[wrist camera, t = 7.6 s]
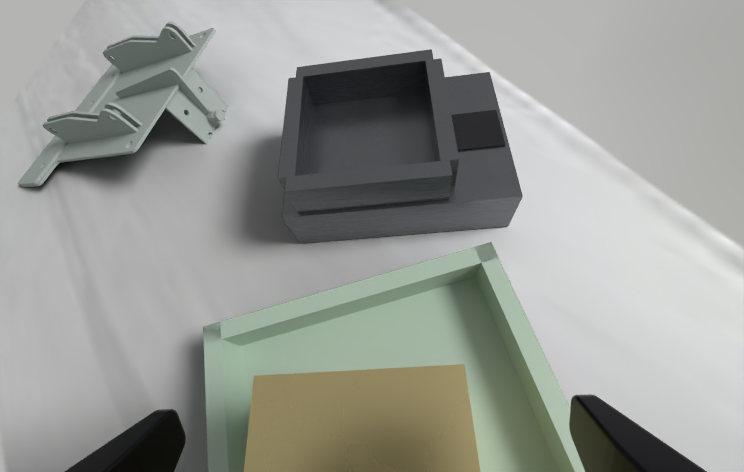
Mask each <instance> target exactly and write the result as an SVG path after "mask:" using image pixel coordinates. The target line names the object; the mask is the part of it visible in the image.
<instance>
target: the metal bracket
mask: <svg viewBox="0 0 744 472" xmlns="http://www.w3.org/2000/svg"><path fill="white" fill-rule="evenodd" d="M174 29H175V30H174ZM214 33H215V30H214V29H213V28H211V29H208V30H205V31H202V32H200V33H197V34H194V35H191V36H188V35H187V34H186V33H185V31H184V30H183V29H182V28H181V27H180V26H179V25H177V24H176V23H174V22H168V23H167V24H166V26H165V27H164V28H163V29H162V31H161V34H160V36H132V37H129V38H127V39H124V40H122V41H119V42H116V43H114V44H111V45H109V46H108V47H107V49H106V50H105V51H104V52H103V54H104V56H105V58H106V59H107V60H109V61H110V62H111V63H112V65H111V66H110V68H109V69H108V70H107V71H106V73H105V74H104V75H103V76H102V78H101V79H100V80H99V81H98V83H97V84H96V85H95V86H94V88H93V89H92V90H91V91H90V93H89V94H88V95H87V96H86V98H85V99H84V100H83V102H82V103H81V104H80V105H79V107H78V108H77V109H76V110H75V111H72V112H68V113H64V114H60V115H56V116H52V117H49V118H48V119H47V121H48V122H45V123H44V124H43V127H44V128H45V129H46V130H48V131H49V132H51V133H52V134H54V135H55V137H54V138H53V139H52V140H51V142H50V143H49V144H48V145H47V147H46V148H45V149H44V150H43V152H42V153H41V154H40V156H39V157H38V158H37V159H36V161H35V162H34V163H33V164H32V166H31V167H30V168H29V169H28V171H27V172H26V173H25V174H24V176H23V177H22V178H21V179H20V181H19V182H18V184H19V185H20V186H22V187H34V186H40V185H42V184H43V183H44V181H45V180H46V179H47V178H48V176H49V175H50V174H51V172H52V171H53V170H54V168H55V167H56V166H57V165H58V164H59V163H61V162H68V161H76V160H85V159H93V158H101V157H109V156H117V155H126V154H133V153H135V152H136V151H137V150H138V149H139V148H140V146H141V145H142V143H143V141H144V140H145V138H146V137H147V135H148V134H149V132H150V131H151V129H152V128H153V126H154V125H155V123H156V122H157V120H158V119H159V117H160V116H161V114H162V113H163V111H164V110H165V109H166V110H167V111H168V112H169V113H170V114H172V115H173V116H174V117H175V118H176V119H177V120H178V121H180V122H181V123H182V124H183V125H184V126H185V127H186V128H187V129H189V130H190V131H191V132H192V133H193V134H194V135H195V136H197V137H198V138H199V139H200V140H201V141H202V142H203V143H205V144H207V143H208V142H209V140H210V137H209V135H208V134H209V133H210V134H213V133H214V131H215V129H216V127H217V126H218V124H219V122H220V121H223V120H225V113H224V112H225V111H226V110H227V108H228V106H227V105H226V103H225V102H224V101H223V100H222V99H221V98H220V97H219V96H218V95H217V94H216V93H215V92H214V91H213V90H212V89H211V87H210V86H209V85H208V84H207V83H206V82H205V81H204V80H203V79H202V78H201V77H200V76H199V75H198V74H197V73H196V71H195V70H194V69H193V68H192V67H193V65H194V64H195V62H196V61H197V59H198V58H199V56H200V55H201V53H202V52H203V50H204V49H205V47H206V46H207V44H208V43H209V41H210V40H211V38H212V36H213V35H214ZM111 56H112V57H113V58H114V59H113V58H112V57H111ZM198 88H200V89H201V93H200V92H199V90H198ZM184 110H185V111H187V115H185V114H184Z"/></svg>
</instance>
